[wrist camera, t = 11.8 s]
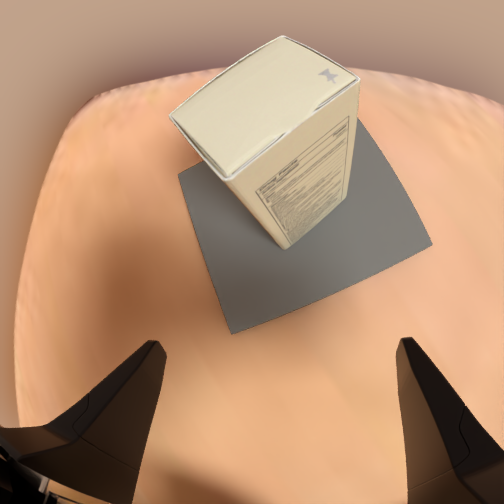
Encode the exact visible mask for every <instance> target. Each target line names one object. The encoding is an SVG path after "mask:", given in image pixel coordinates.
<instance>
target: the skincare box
mask: <svg viewBox="0 0 504 504" xmlns="http://www.w3.org/2000/svg"><path fill="white" fill-rule="evenodd" d="M359 93H360V78H359V77H358V76H357V75H355V74H354V73H352V72H350V71H349V70H347V69H346V68H344V67H343V66H341V65H339V64H338V63H336V62H335V61H333V60H331V59H330V58H328V57H326V56H324V55H323V54H321V53H319V52H317V51H316V50H314V49H312V48H310V47H308V46H306V45H304V44H301V43H300V42H298V41H295V40H293V39H290V38H288V37H285V36H280V37H278V38H276V39H274V40H272V41H270V42H268V43H267V44H265V45H263V46H261V47H259V48H258V49H256V50H254V51H253V52H251V53H250V54H248V55H246V56H245V57H243V58H242V59H240V60H238V61H237V62H236V63H235V64H233V65H231V66H230V67H228V68H227V69H225V70H224V71H223V72H221V73H220V74H218V75H217V76H216V77H214V78H213V79H212V80H210V81H209V82H208V83H206V84H205V85H204V86H202V87H201V88H200V89H199V90H197V91H196V92H195V93H194V94H193V95H191V96H190V97H189V98H188V99H186V100H185V101H184V102H183V103H182V104H181V105H180V106H178V107H177V108H176V109H175V110H174V111H173V112H171V113H170V114H169V118H170V120H171V121H172V122H173V123H174V125H175V126H176V127H177V128H178V130H179V131H180V132H181V134H182V135H183V136H184V137H185V139H186V140H187V141H188V142H189V143H190V145H191V146H192V147H193V148H194V149H195V151H196V152H197V153H198V154H199V155H200V156H201V158H202V159H203V160H204V161H205V162H206V163H207V164H208V166H209V167H210V168H211V169H212V170H213V171H214V172H215V173H216V175H217V176H218V177H219V178H220V179H221V180H222V181H223V182H224V183H225V184H226V186H227V187H228V188H229V189H230V190H231V191H232V192H233V193H234V194H235V196H236V197H237V198H238V199H239V200H240V201H241V202H242V204H243V205H244V206H245V207H246V208H247V209H248V210H249V212H250V213H251V214H252V215H253V216H254V217H255V218H256V220H257V221H258V222H259V223H260V224H261V226H262V227H263V228H264V229H265V230H266V231H267V233H268V234H269V235H270V236H271V237H272V238H273V239H274V240H275V242H276V243H277V244H278V245H279V246H280V247H281V248H282V249H283V250H286V249H287V248H289V247H290V246H291V245H293V244H294V243H295V242H296V241H298V240H299V239H300V238H301V237H302V236H304V235H305V234H306V233H307V232H308V231H310V230H311V229H312V228H313V227H314V226H315V225H316V224H318V223H319V222H320V221H321V220H322V219H323V218H324V217H326V216H327V215H328V214H329V213H330V212H331V211H332V210H333V209H334V208H335V207H336V206H337V205H339V204H340V203H341V202H342V201H343V200H344V199H345V198H346V196H347V190H348V183H349V177H350V170H351V164H352V156H353V149H354V141H355V134H356V124H357V115H358V104H359Z"/></svg>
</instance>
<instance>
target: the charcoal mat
mask: <svg viewBox="0 0 504 504" xmlns="http://www.w3.org/2000/svg"><path fill="white" fill-rule="evenodd" d="M178 177H179V180H180V184H181V187H182V190H183V194H184V197H185V200H186V203H187V207H188V210H189V213H190V216H191V219H192V222H193V226H194V229H195V232H196V235H197V238H198V241H199V244H200V247H201V250H202V253H203V256H204V259H205V262H206V265H207V268H208V271H209V274H210V276H211V279H212V282H213V285H214V288H215V291H216V293H217V296H218V299H219V302H220V305H221V307H222V310H223V313H224V316H225V318H226V321H227V324H228V326H229V329H230V332H231V334H235V333H238V332H240V331H243V330H246V329H248V328H251V327H254V326H256V325H259V324H262V323H264V322H267V321H269V320H272V319H274V318H277V317H279V316H282V315H284V314H287V313H289V312H292V311H294V310H297V309H299V308H301V307H304V306H306V305H309V304H311V303H313V302H316V301H318V300H320V299H323V298H325V297H327V296H329V295H332V294H334V293H336V292H338V291H341V290H343V289H345V288H347V287H349V286H352V285H354V284H356V283H358V282H360V281H362V280H364V279H367V278H369V277H371V276H373V275H375V274H377V273H379V272H381V271H383V270H385V269H387V268H389V267H391V266H393V265H395V264H397V263H399V262H401V261H403V260H405V259H407V258H409V257H411V256H413V255H415V254H417V253H418V252H420V251H422V250H424V249H426V248H428V247H430V246H431V245H433V244H432V242H431V240H430V237H429V235H428V233H427V231H426V229H425V227H424V225H423V223H422V221H421V219H420V217H419V215H418V213H417V211H416V209H415V207H414V205H413V204H412V202H411V200H410V198H409V196H408V194H407V193H406V191H405V189H404V187H403V186H402V184H401V182H400V181H399V179H398V177H397V175H396V174H395V172H394V171H393V169H392V167H391V166H390V164H389V163H388V161H387V159H386V158H385V156H384V155H383V153H382V152H381V150H380V149H379V147H378V146H377V144H376V143H375V141H374V140H373V138H372V137H371V135H370V134H369V133H368V131H367V130H366V128H365V127H364V126H363V124H362V123H361V121H360V120H359V119H358V117H357V124H356V134H355V141H354V149H353V156H352V164H351V170H350V177H349V183H348V190H347V196H346V198H345V199H344V200H343V201H342V202H341V203H340V204H339V205H337V206H336V207H335V208H334V209H333V210H332V211H331V212H330V213H329V214H328V215H327V216H326V217H324V218H323V219H322V220H321V221H320V222H319V223H318V224H316V225H315V226H314V227H313V228H312V229H311V230H310V231H308V232H307V233H306V234H305V235H304V236H302V237H301V238H300V239H299V240H298V241H296V242H295V243H294V244H293V245H291V246H290V247H289V248H287V249H286V250H283V249H282V248H281V247H280V246H279V245H278V244H277V243H276V242H275V240H274V239H273V238H272V237H271V236H270V235H269V234H268V233H267V231H266V230H265V229H264V228H263V227H262V226H261V224H260V223H259V222H258V221H257V220H256V218H255V217H254V216H253V215H252V214H251V213H250V212H249V210H248V209H247V208H246V207H245V206H244V205H243V204H242V202H241V201H240V200H239V199H238V198H237V197H236V196H235V194H234V193H233V192H232V191H231V190H230V189H229V188H228V187H227V186H226V184H225V183H224V182H223V181H222V180H221V179H220V178H219V177H218V176H217V175H216V173H215V172H214V171H213V170H212V169H211V168H210V167H209V166H208V164H207V163H206V162H205V161H202V162H200V163H198V164H196V165H195V166H193V167H191V168H189V169H187V170H185V171H183V172H181V173H180V174H178Z"/></svg>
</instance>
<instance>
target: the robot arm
mask: <svg viewBox="0 0 504 504" xmlns="http://www.w3.org/2000/svg"><path fill="white" fill-rule="evenodd" d="M166 358H167V355H166V352H165V350H164V349H163V347H162V346H161V344H160V343H159V341H156V340H148V341H147V342H146V343H144V344H143V345H142V346H141V347H140V348H139V349H138V350H136V351H135V352H134V353H133V354H132V355H131V356H130V357H128V358H127V359H126V360H125V361H124V362H123V363H122V364H120V365H119V366H118V367H117V368H116V369H115V370H114V371H113V372H111V373H110V374H109V375H108V376H107V377H106V378H105V379H103V380H102V381H101V382H100V383H99V384H98V385H97V386H96V387H94V388H93V389H92V390H91V391H90V392H89V393H87V394H86V395H85V396H84V397H83V398H82V399H81V400H79V401H78V402H77V403H76V404H75V405H73V406H72V407H71V408H69V409H68V410H67V411H65V412H64V413H62V414H61V415H60V416H58V417H57V418H55V419H54V420H53V421H51V422H50V423H48V424H46V425H43V426H36V427H22V428H4V427H3V426H1V425H0V504H109V503H112V504H132V501H133V496H134V492H135V488H136V483H137V479H138V475H139V470H140V466H141V462H142V458H143V454H144V450H145V446H146V442H147V438H148V434H149V431H150V427H151V423H152V420H153V416H154V412H155V409H156V405H157V402H158V398H159V395H160V391H161V386H162V381H163V375H164V369H165V364H166ZM396 366H397V381H398V396H399V404H400V410H401V417H402V425H403V433H404V443H405V453H406V466H407V486H408V504H504V450H503V449H502V448H501V447H500V446H499V445H498V444H497V443H496V441H495V440H494V439H493V438H492V437H491V436H490V435H489V434H488V433H487V431H486V430H485V429H484V428H483V427H482V426H481V424H480V423H479V422H478V421H477V419H476V418H475V417H474V415H473V414H472V413H471V411H470V410H469V409H468V407H467V406H465V403H464V402H463V401H462V399H461V398H460V397H459V395H458V394H457V393H456V391H455V390H454V389H453V387H452V386H451V385H450V383H449V382H448V381H447V379H446V378H445V377H444V376H443V374H442V373H441V372H440V371H439V369H438V368H437V367H436V366H435V364H434V363H433V362H432V361H431V359H430V358H429V357H428V356H427V354H426V353H425V352H424V351H423V349H422V348H421V347H420V346H419V345H418V343H417V342H416V341H415V340H414V339H413V338H412V337H405V338H401V339H400V342H399V345H398V348H397V351H396Z"/></svg>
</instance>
